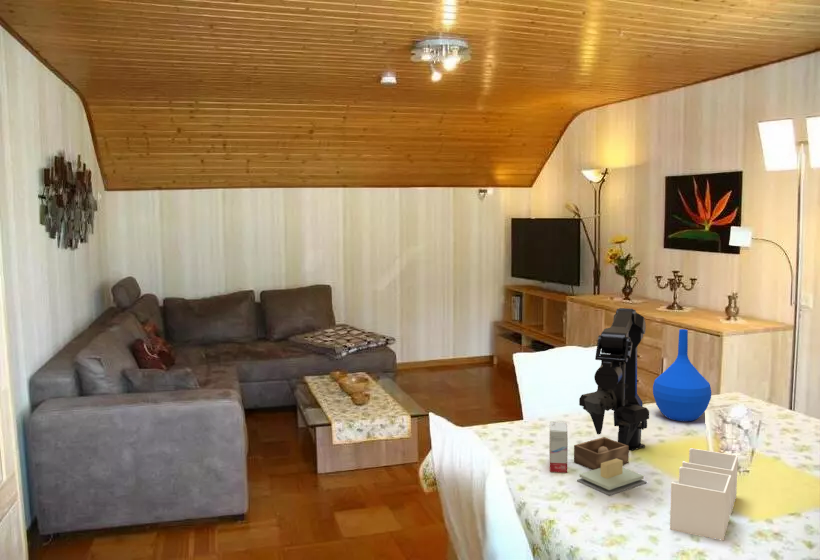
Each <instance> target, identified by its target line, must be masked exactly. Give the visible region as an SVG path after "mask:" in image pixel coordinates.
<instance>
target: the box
mask: <svg viewBox="0 0 820 560" xmlns="http://www.w3.org/2000/svg"><path fill="white" fill-rule="evenodd" d="M602 446H604V447H606V448H607V449H608V451H605V452H601V453H598V449H599V448H600V447H602ZM629 451H630V450H629V446H628V445H625V444H622V443H619V442H618V440H617V441H616V440H614V439H611V438H609V437H606V436H602V437H599V438H595V439H590V440H589V441H585V442H581V443H577V444H574V446H573V463H575V464H577V465H580V466H582V467H584V468H586V469H589V470H590V471H592V470H595V469H598V468H601V463H603V462H606V461H610V460H613V459H616V458H617V459H620V460H622V461H623V466H625V465H627V464H629V459H630V458H629V455H630V454H629V453H630V452H629Z"/></svg>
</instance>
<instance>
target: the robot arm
mask: <svg viewBox="0 0 820 560" xmlns="http://www.w3.org/2000/svg"><path fill="white" fill-rule="evenodd" d="M646 326H647V325H646V320H645V317H644V316H643V315H641V314H639V313H638V312H637V310H636V309H633V308H628V307H627V308H626V307H619V308H617V309H616V311H615V314H614V315H613V319H612V324H611V326H610V327H607V328H604V329H603V330H602V332H601V333H600V335H599V334H598V337H597V344H596V349H595V360H596V361H601V363H600V366H599V367H598V369H597V370H596V371H595V373H594V382H595V384H596V385H597V389H596V391H593V392H589V393H588V392H587V393H584V394H581V395H580V397H579V400H578V401H579V403H578V405H579V406H581V407H582V409H583V410H585V411H586V412H587V413H588V414H589V415H590V418H591V421H592V423H593V426H594V429H595V433H596V435H601V434H602V430H603V425H604V420H605V419H604V418H605V412H606V411H607V412H608V411H610V410H611V411H613V425H614V427H618V431H617V442H619V443H622V444H625V445H628V446H629V451H636V450H639V449H641V448H645V447H646V445H645V444H644V443H642V441H641V440H642V431H643V430H644V429H648V420H649V419H650V410H649V409H648V408H647V407H645V406H643V400H642V398H641V397H640V395H639V394H638V346H639V344H640V343H641V341H642V339H643V338H644V335H645V334H646V330H647V329H646Z"/></svg>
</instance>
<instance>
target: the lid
mask: <svg viewBox="0 0 820 560" xmlns="http://www.w3.org/2000/svg"><path fill="white" fill-rule="evenodd" d="M623 466H624V465H623V461H622V460H620V459H617V458H616V459H613V460H610V461H606V462H603V463H601V468H598V469H595V470H589V471H585V472H583V473H579V479H581V478H583V479H585V480H587V481H589V482H592V483H594V484H596V485H598V486H601V487H603V488H605V489H607V490H611V489H614V488H617V487H620V486H623V485H626V484H629V483H632V482H635V481H638V480H641V479H642V480H645V479H644V478H645V475H643V474H640V473H638V472H636V471H634V470H631V469H628V468H626V467H623Z"/></svg>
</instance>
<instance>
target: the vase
mask: <svg viewBox="0 0 820 560" xmlns="http://www.w3.org/2000/svg"><path fill="white" fill-rule="evenodd" d="M688 335H689V334H688V329H683V328H681V329H679V330H678V347H677V349H678V350H677V356H676V358H675V360H674V361H673V362H672V363H671V365H669V367H667V368H666V369H665V370H664V371H663V372H662V373H661V374H659V375H658V376H657V377H656V378H655V379H654V381H653V385H652V395H653V398H654V402H655V404H656V406H657V408H658V410H659V411H660V412H661V413H662V414H663V416H665V418H667V419H669V420H673V421H677V422H693V421H696V420H697V419H699V418H701V417H702V415H704V413H705V411H706V410H707V408H708V406H709V404H710V402H711V399H712V388H711V384H710V382H709V381H708V380H707V379H706V378H705V377H704V376H703V375H702V374H701V372H699V371H698V370H697V368H696V367H695V366H694V365H693V364H692V362H691V361H690V359H689V355H688V354H689V353H688V352H689V351H688V350H689V349H688V345H689V343H688V342H689V340H688V338H689V336H688Z"/></svg>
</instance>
